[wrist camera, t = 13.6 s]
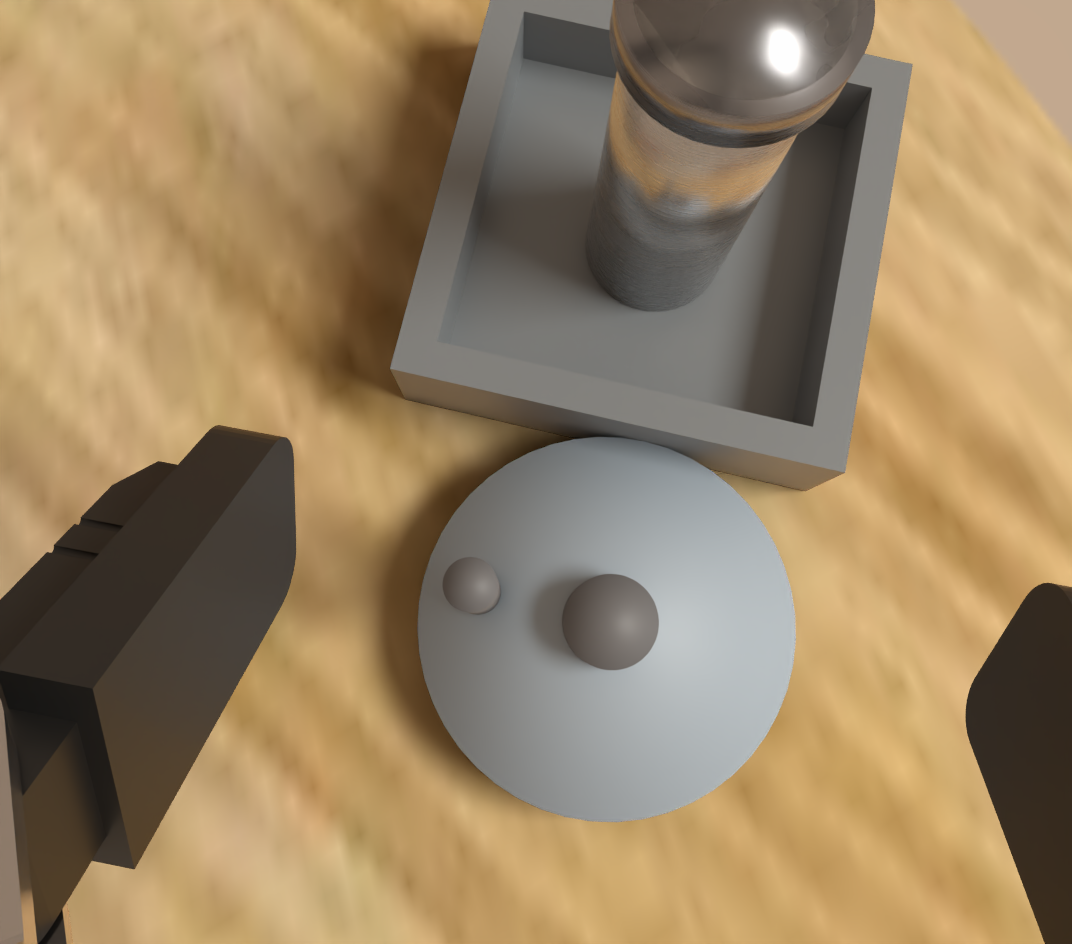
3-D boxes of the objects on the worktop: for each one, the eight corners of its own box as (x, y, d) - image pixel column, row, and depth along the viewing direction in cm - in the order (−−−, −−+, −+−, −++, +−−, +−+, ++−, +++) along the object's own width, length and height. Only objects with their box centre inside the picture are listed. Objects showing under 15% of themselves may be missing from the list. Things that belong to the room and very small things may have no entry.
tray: (404, 399, 25) (389, 368, 22) (499, 45, 27) (497, -27, 24) (805, 491, 25) (845, 472, 22) (868, 126, 27) (912, 64, 24)
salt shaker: (559, 301, 24) (590, 82, 14) (593, 159, 25) (644, -139, 15) (715, 337, 24) (852, 142, 14) (744, 194, 25) (893, -84, 15)
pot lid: (383, 762, 23) (342, 804, 18) (471, 414, 25) (458, 355, 19) (743, 848, 23) (814, 917, 17) (805, 491, 25) (887, 453, 19)
